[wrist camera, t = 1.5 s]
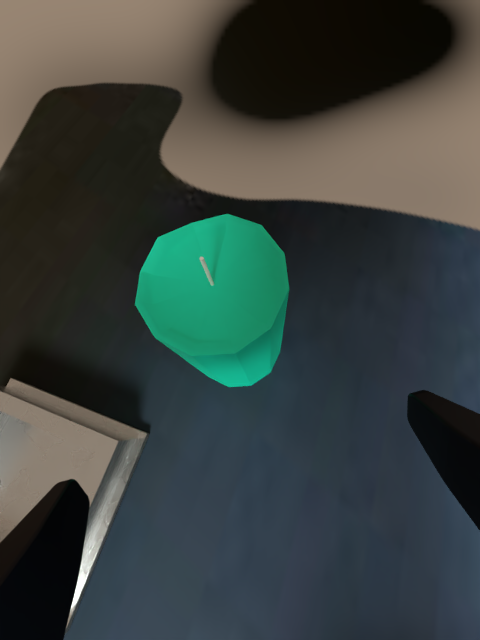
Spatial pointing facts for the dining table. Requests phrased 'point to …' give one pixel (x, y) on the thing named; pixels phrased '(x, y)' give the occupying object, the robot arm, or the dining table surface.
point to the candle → (217, 297)
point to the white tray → (63, 463)
